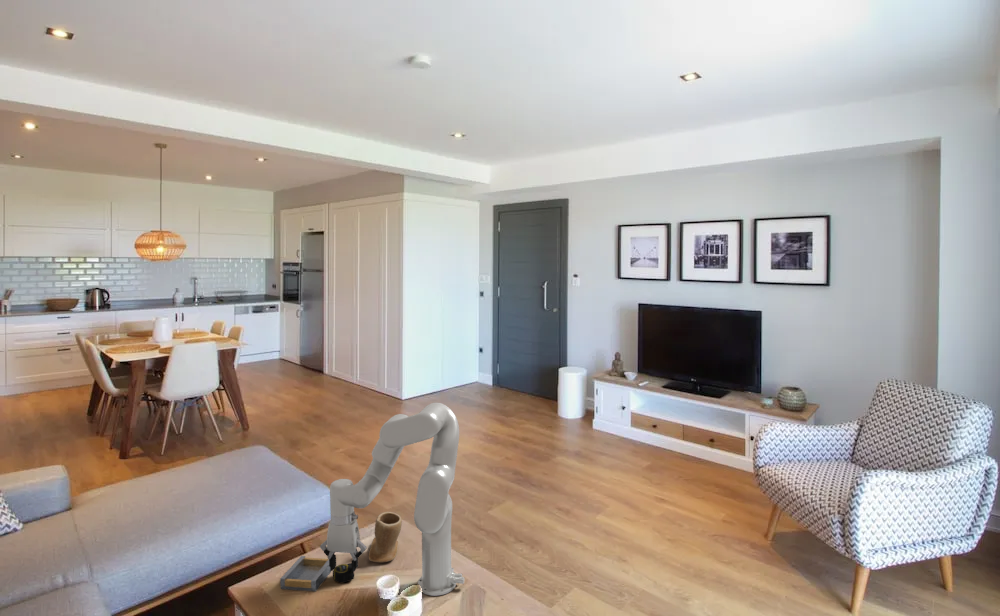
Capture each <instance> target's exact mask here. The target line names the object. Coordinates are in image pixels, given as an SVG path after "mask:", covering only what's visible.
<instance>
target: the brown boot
mask: <svg viewBox="0 0 1000 616" xmlns="http://www.w3.org/2000/svg"><path fill="white" fill-rule="evenodd" d="M402 522H403V520H402V516H401V515H399V514H398V513H396V512H393V511H385V512H381V513H380V514H379V515H377V517H376V519H375V523H374V538H373V540H372V541H371V544H370V549H369V552H368V559H369V561H370V562H374V563H388V562H391V561H393V560H394V559H395V557H396V555H397V552H398V546H399V541H398V537H400V536H399V535H400V532H401V530H402V524H403V523H402Z"/></svg>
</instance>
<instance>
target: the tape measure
mask: <svg viewBox="0 0 1000 616" xmlns="http://www.w3.org/2000/svg"><path fill="white" fill-rule="evenodd" d="M332 578H333V580H334V581H335V582H336V583H346V582H348V581H352V580H354V579H355V571H354V572H352V566H351V562H350V563H341V564H339V565H336V567H335V568H334V570H332Z"/></svg>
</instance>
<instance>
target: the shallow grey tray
mask: <svg viewBox="0 0 1000 616" xmlns="http://www.w3.org/2000/svg"><path fill="white" fill-rule="evenodd" d="M331 573H332V571H330V567H329V559H328V558H318V557H306V556H305V555H301V556H300V557H298V559H297V560H296V561H295V562H294V563H293V565H292V566H290V568H289V569H288V570H287V571H286V572H284V574H283V575H282V576H281V577H280V578H279V579H280V581H279V582H280V589H281V590H290V591H291V590H292V591H301V592H302V591H305V592H317V590H318V589H319V588H320V587H321V586H322V585H323V583H324V582H325V581H326V579H327V578H328V577H329V575H330V574H331Z"/></svg>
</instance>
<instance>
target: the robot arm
mask: <svg viewBox="0 0 1000 616" xmlns="http://www.w3.org/2000/svg"><path fill="white" fill-rule="evenodd" d="M432 438H433V439H432ZM430 439H432V443H431V447H430V448H431V449H430V457H429V461H428V464H427V466H426V468H425V470H423V473H422V475H421V476H420V478H419V481H418V486H417V493H416V499H415V505H414V514H413V521H414V524H415V527H416V528H417V529H418V530H419V531H420V532H421V569H422V570H421V577H419V579H418V581H417V585H418V584H419V585H420V586H421V588H422V591H423V593H422V594H424V595H426V596H427V595H428V596H431V597H432V596H433V597H434V596H435V597H437V596H443V595H446V594H448V593H450V592H452V591H453V590H454V589H455V587H456V586H457V584H460V585H461V584H465V577H464V576H463V573H461V572H460V573H456V572H454V571H455V570H454V568H455V567H452V518H453V501H452V500H453V499H452V498H451V495H450V493H449V492H450V489H451V487H452V485H453V484H454V480H455V475H456V468H457V467H456V465H457V458H458V451H459V441H460V426H459V421H458V418H457V415H456V414H455V412H454V411H453V410H452V409H451V408H450V407H448V406H447V405H446V404H444V403H442V402H432V403H429V404H428V405H426V406H424V408H422V409H421V411H420V412H419V413H416V414H413V415H407V414H404V413H398V414H394V415H393V416H391V417H390V418H389V419H388V420H387V421H386V422H385V423H383V425H382V426H381V427H380V430H379V438H378V440H377V441H376V444H375V445H374V446H373V449H372V451H371V456H372V460H371V463H370V464H369V466H368V468H367V470H366V471H365V474H364V475H363V477H362V478H361V479H360V480H359V481H357V482H356V483H355V484H354V483H353V481H352V480H351V479H349V478H339V479H336V480H333V481H332V482H331V484H330V486H329V504H330V505H329V507H330V520H329V522H328V527H327V533H326V540H325V541H323V542H322V543H321V544H320V545H319V548H320V549H321V550H322V552H323V554H324V555H326V557H327V559H329V567H330V571H331V572H333V570H334V568H335V567H336V566H337V555H336V553H343V554H349V555H350V556H351V558H352V560H351V562H350V563H351V566H352V572H354V573H355V571H356V570H357V569H358V568H359V558H360V557H361V556H362V555H363V553H364V552H365V551H366V550H367V549H368V546H367V545H366V544H364V543H363V542H362V541H361V535H360V528H359V524H358V523H359V522H358V518H359V515H358V514H356V513H355V509H364V508H366V507H368V506H369V505H370V504H371V503H372V501H374V499H375V498H376V497H377V496H378V495H379V493H380V491H382V488H383V487H384V485H385V484H386V482H387V481H388V478H389V476H390V474H391V472H392V470H393V468H394V466H395V464H396V462H397V461H398V458H399V456H401V453H402V452H403V450H404V448H405V446H410V445H414V444H417V443H420V442H423V441H427V440H430ZM358 548H360V550H358Z"/></svg>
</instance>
